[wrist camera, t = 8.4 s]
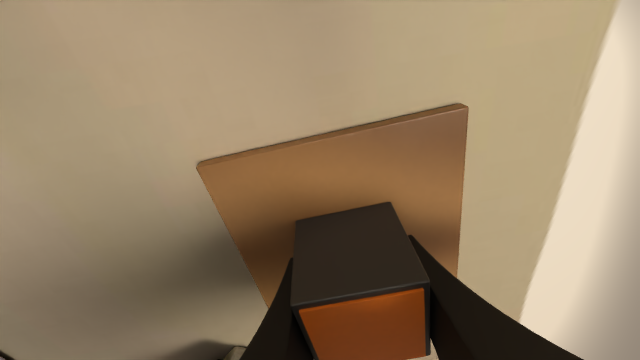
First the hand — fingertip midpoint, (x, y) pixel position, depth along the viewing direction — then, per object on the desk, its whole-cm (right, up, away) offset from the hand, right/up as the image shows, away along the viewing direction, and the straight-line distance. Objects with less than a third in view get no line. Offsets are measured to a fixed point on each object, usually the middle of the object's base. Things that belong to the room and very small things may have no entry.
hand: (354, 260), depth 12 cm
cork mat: (0, +1, +1) cm, 2 cm away
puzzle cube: (0, +1, +1) cm, 1 cm away
